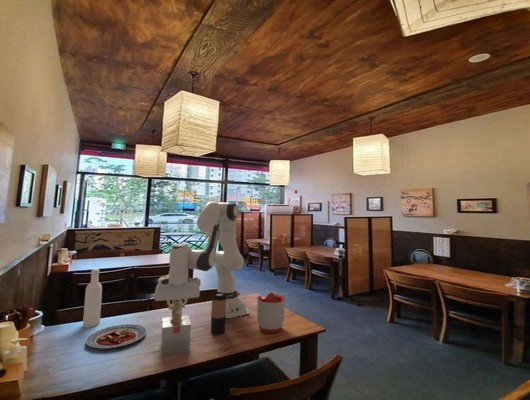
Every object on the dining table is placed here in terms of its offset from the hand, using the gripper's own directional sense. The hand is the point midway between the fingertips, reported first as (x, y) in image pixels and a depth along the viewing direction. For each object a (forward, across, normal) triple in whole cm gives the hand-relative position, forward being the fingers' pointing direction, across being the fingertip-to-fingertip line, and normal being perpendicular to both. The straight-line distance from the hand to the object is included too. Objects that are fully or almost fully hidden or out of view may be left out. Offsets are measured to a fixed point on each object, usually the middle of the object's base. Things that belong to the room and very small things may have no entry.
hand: (176, 308), depth 122 cm
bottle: (+18, +42, -41) cm, 61 cm away
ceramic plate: (+18, +26, -18) cm, 36 cm away
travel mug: (+18, -22, -10) cm, 30 cm away
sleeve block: (+18, 0, 0) cm, 18 cm away
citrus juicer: (+18, -50, -6) cm, 53 cm away
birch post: (+16, 0, 0) cm, 16 cm away
